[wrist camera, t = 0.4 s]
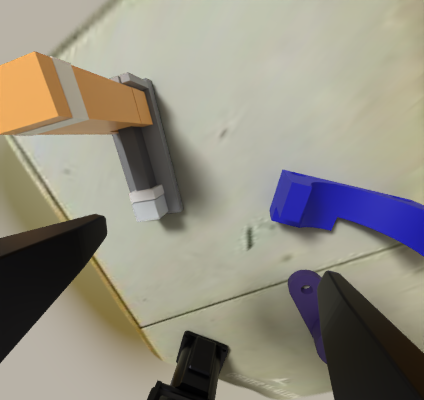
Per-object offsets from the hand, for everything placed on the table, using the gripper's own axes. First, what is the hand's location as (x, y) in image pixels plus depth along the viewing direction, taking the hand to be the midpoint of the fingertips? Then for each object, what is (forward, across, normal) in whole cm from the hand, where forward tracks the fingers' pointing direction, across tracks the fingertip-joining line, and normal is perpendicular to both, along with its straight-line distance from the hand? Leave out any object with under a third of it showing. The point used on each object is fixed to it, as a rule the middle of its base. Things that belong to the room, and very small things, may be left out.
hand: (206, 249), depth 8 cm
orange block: (+14, +12, -3) cm, 19 cm away
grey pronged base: (+15, +11, +1) cm, 18 cm away
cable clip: (+15, -10, +3) cm, 18 cm away
